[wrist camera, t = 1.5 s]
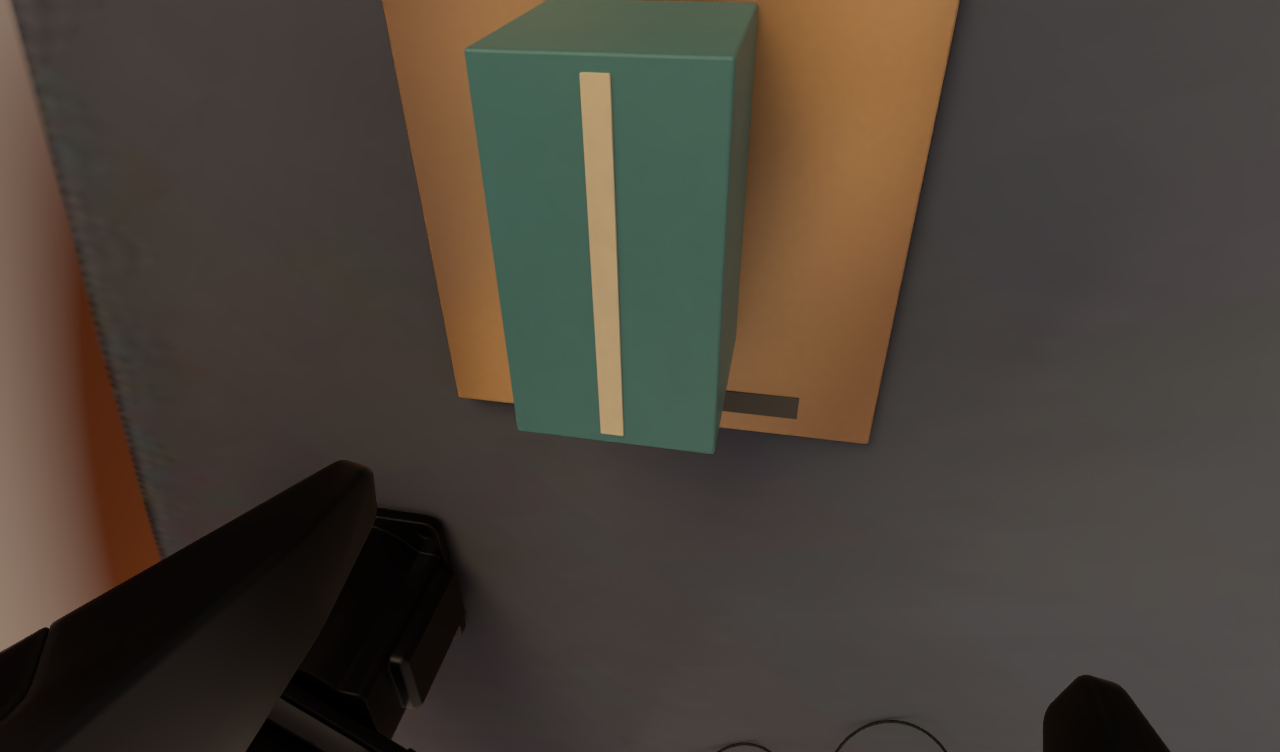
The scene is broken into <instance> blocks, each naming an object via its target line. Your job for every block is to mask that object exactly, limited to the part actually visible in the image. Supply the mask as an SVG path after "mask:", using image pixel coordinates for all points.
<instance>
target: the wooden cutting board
mask: <svg viewBox="0 0 1280 752" xmlns="http://www.w3.org/2000/svg"><path fill="white" fill-rule="evenodd" d="M544 1H546V0H382V3H383V8H384V13H385V18H386V23H387V28H388V34H389V39H390V44H391V49H392V54H393V59H394V65H395V70H396V75H397V80H398V85H399V90H400V96H401V101H402V106H403V111H404V116H405V121H406V127H407V132H408V137H409V142H410V147H411V152H412V158H413V163H414V168H415V173H416V178H417V183H418V189H419V194H420V199H421V204H422V209H423V214H424V220H425V225H426V230H427V235H428V240H429V245H430V251H431V256H432V261H433V266H434V271H435V276H436V282H437V287H438V292H439V297H440V302H441V307H442V313H443V318H444V323H445V328H446V333H447V338H448V344H449V349H450V354H451V359H452V364H453V369H454V375H455V380H456V385H457V390H458V395H459V397H462V398H470V399H479V400H488V401H496V402H505V403H514V400H513V393H512V386H511V379H510V372H509V364H508V357H507V350H506V343H505V336H504V329H503V322H502V315H501V308H500V301H499V294H498V287H497V280H496V273H495V266H494V259H493V252H492V244H491V237H490V230H489V223H488V216H487V209H486V202H485V195H484V188H483V181H482V174H481V167H480V160H479V153H478V146H477V139H476V131H475V124H474V117H473V110H472V103H471V96H470V89H469V82H468V75H467V68H466V61H465V54H464V51H465V48H467V47H469V46H470V45H472V44H474V43H475V42H477V41H479V40H480V39H482V38H484V37H485V36H487V35H489V34H490V33H492V32H494V31H496V30H497V29H499V28H501V27H502V26H504V25H506V24H507V23H509V22H511V21H512V20H514V19H516V18H517V17H519V16H521V15H523V14H524V13H526V12H528V11H529V10H531V9H533V8H534V7H536V6H538V5H539V4H541V3H543V2H544ZM638 1H692V2H745V3H757V4H758V19H757V33H756V48H755V63H754V77H753V92H752V107H751V122H750V136H749V151H748V166H747V181H746V195H745V210H744V225H743V240H742V254H741V269H740V284H739V299H738V313H737V328H736V341H735V346H734V351H733V357H732V362H731V367H730V373H729V378H728V383H727V389H726V394H725V399H724V405H723V410H722V415H721V421H720V426H719V427H722V428H731V429H739V430H748V431H757V432H765V433H774V434H783V435H791V436H800V437H809V438H817V439H826V440H835V441H843V442H852V443H861V444H868V442H869V437H870V432H871V427H872V422H873V418H874V413H875V408H876V403H877V398H878V394H879V389H880V384H881V379H882V374H883V369H884V365H885V360H886V355H887V350H888V345H889V341H890V336H891V331H892V326H893V321H894V317H895V312H896V307H897V302H898V297H899V292H900V288H901V283H902V278H903V273H904V268H905V264H906V259H907V254H908V249H909V244H910V239H911V235H912V230H913V225H914V220H915V215H916V211H917V206H918V201H919V196H920V191H921V186H922V182H923V177H924V172H925V167H926V162H927V158H928V153H929V148H930V143H931V138H932V133H933V129H934V124H935V119H936V114H937V109H938V105H939V100H940V95H941V90H942V85H943V81H944V76H945V71H946V66H947V61H948V56H949V52H950V47H951V42H952V37H953V32H954V28H955V23H956V18H957V13H958V8H959V3H960V0H638Z"/></svg>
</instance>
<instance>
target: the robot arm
mask: <svg viewBox="0 0 1280 752" xmlns="http://www.w3.org/2000/svg"><path fill="white" fill-rule="evenodd" d="M464 614H465V611H464V606H463V602H462V598H461V594H460V589H459V585H458V581H457V577H456V573H455V571H454V569H453V568H452V565H451V560H450V556H449V552H448V548H447V544H446V540H445V535H444V531H443V527H442V525H441V523H440V522H439V521H438V520H437V519H435V518H433V517H430V516H427V515H420V514H413V513H406V512H399V511H392V510H385V509H379V508H377V503H376V494H375V485H374V476H373V472H372V470H371V469H370V468H369V467H367V466H365V465H361V464H358V463H354V462H351V461H347V460H340V461H336V462H334V463H332V464H330V465H329V466H327V467H325V468H323V469H322V470H320V471H318V472H316V473H315V474H313V475H311V476H309V477H308V478H306V479H304V480H302V481H301V482H299V483H297V484H295V485H294V486H292V487H290V488H288V489H287V490H285V491H283V492H281V493H279V494H278V495H276V496H274V497H272V498H271V499H269V500H267V501H265V502H264V503H262V504H260V505H258V506H257V507H255V508H253V509H251V510H250V511H248V512H246V513H244V514H243V515H241V516H239V517H237V518H236V519H234V520H232V521H230V522H229V523H227V524H225V525H223V526H222V527H220V528H218V529H216V530H215V531H213V532H211V533H209V534H207V535H206V536H204V537H202V538H200V539H199V540H197V541H195V542H193V543H192V544H190V545H188V546H186V547H185V548H183V549H181V550H179V551H178V552H176V553H174V554H172V555H171V556H169V557H167V558H165V559H164V560H162V561H160V562H158V563H157V564H155V565H153V566H151V567H150V568H148V569H146V570H144V571H143V572H141V573H139V574H137V575H136V576H134V577H132V578H130V579H128V580H127V581H125V582H123V583H121V584H120V585H118V586H116V587H114V588H113V589H111V590H109V591H108V592H106V593H104V594H102V595H101V596H99V597H97V598H95V599H93V600H92V601H90V602H88V603H86V604H85V605H83V606H81V607H79V608H78V609H76V610H74V611H72V612H71V613H69V614H67V615H65V616H63V617H62V618H60V619H58V620H57V621H55V622H53V623H52V624H51V626H50V629H49V628H46V627H45V628H42V629H40V630H38V631H37V632H35V633H33V634H31V635H30V636H28V637H26V638H24V639H23V640H21V641H19V642H17V643H16V644H14V645H12V646H10V647H9V648H7V649H5V650H3V651H1V652H0V752H416V751H414V750H413V749H411V748H409V749H405V748H404V747H402V746H400V745H399V744H397V743H395V742H394V741H392V740H391V739H392V737H393V735H394V733H395V731H396V729H397V727H398V724H399V722H400V720H401V718H402V716H403V714H404V712H405V710H406V708H410V709H416V708H418V707H419V706H420V705H422V704H423V702H424V700H425V698H426V696H427V694H428V692H429V689H430V687H431V685H432V683H433V681H434V679H435V677H436V674H437V672H438V670H439V668H440V666H441V664H442V662H443V660H444V657H445V655H446V653H447V651H448V649H449V647H450V645H451V642H452V640H453V638H458V637H460V636H461V635H462V633H463V631H464V629H465V625H466V623H465V619H464ZM1043 752H1170V750H1169V749H1168V748H1167V746H1166V745H1165V744H1164V742H1163V741H1162V740H1161V738H1160V737H1159V735H1158V734H1157V733H1156V731H1155V730H1154V729H1153V727H1152V726H1151V725H1150V723H1149V722H1148V720H1147V719H1146V718H1145V716H1144V715H1143V714H1142V712H1141V711H1140V710H1139V708H1138V707H1137V705H1136V704H1135V703H1134V701H1133V700H1132V699H1131V697H1130V696H1129V695H1128V693H1127V692H1126V691H1125V690H1124V689H1123V688H1122V687H1121V686H1119V685H1118V684H1116V683H1114V682H1111V681H1107V680H1104V679H1100V678H1097V677H1094V676H1090V675H1082V676H1079V677H1077V678H1076V679H1075V680H1074V681H1073V682H1072V683H1071V684H1070V685H1069V686H1068V687H1067V688H1066V689H1065V690H1064V691H1063V692H1062V693H1061V694H1060V695H1059V696H1058V697H1057V698H1056V699H1055V700H1054V701H1053V702H1052V703H1051V704H1050V705H1049V707H1048V708H1047V710H1046V713H1045V716H1044V721H1043Z"/></svg>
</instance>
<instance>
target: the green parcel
mask: <svg viewBox="0 0 1280 752" xmlns="http://www.w3.org/2000/svg"><path fill="white" fill-rule="evenodd" d="M757 19H758V4H757V3H745V2H692V1H638V0H546V1H544V2H543V3H541V4H539V5H538V6H536V7H534V8H533V9H531V10H529V11H528V12H526V13H524V14H523V15H521V16H519V17H517V18H516V19H514V20H512V21H511V22H509V23H507V24H506V25H504V26H502V27H501V28H499V29H497V30H496V31H494V32H492V33H490V34H489V35H487V36H485V37H484V38H482V39H480V40H479V41H477V42H475V43H474V44H472V45H470V46H469V47H467V48H465V51H464V54H465V61H466V68H467V75H468V82H469V89H470V96H471V103H472V110H473V117H474V124H475V131H476V139H477V146H478V153H479V160H480V167H481V174H482V181H483V188H484V195H485V202H486V209H487V216H488V223H489V230H490V237H491V244H492V252H493V259H494V266H495V273H496V280H497V287H498V294H499V301H500V308H501V315H502V322H503V329H504V336H505V343H506V350H507V357H508V364H509V372H510V379H511V386H512V393H513V400H514V407H515V414H516V421H517V428H518V430H519V431H525V432H533V433H541V434H550V435H558V436H566V437H574V438H583V439H591V440H599V441H607V442H615V443H624V444H632V445H640V446H648V447H656V448H665V449H673V450H681V451H689V452H698V453H706V454H713V453H714V452H715V447H716V442H717V437H718V431H719V426H720V421H721V415H722V410H723V405H724V399H725V394H726V389H727V383H728V378H729V373H730V367H731V362H732V357H733V351H734V346H735V341H736V328H737V313H738V299H739V284H740V269H741V254H742V240H743V225H744V210H745V195H746V181H747V166H748V151H749V136H750V122H751V107H752V92H753V77H754V63H755V48H756V33H757Z"/></svg>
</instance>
